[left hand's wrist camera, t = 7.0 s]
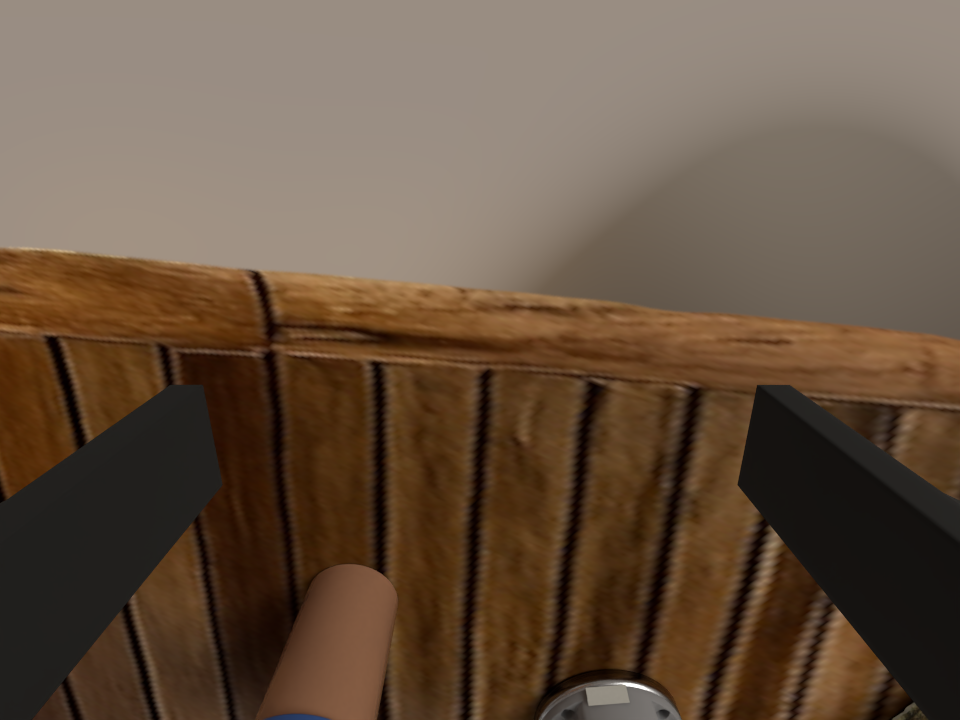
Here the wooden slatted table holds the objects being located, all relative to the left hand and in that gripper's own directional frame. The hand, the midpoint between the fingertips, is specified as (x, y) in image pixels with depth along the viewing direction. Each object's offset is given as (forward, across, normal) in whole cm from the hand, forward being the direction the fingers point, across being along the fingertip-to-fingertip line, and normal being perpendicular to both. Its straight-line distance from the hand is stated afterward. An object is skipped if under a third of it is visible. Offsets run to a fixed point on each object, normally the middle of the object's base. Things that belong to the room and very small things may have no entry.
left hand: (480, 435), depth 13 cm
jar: (+28, +12, +33) cm, 45 cm away
